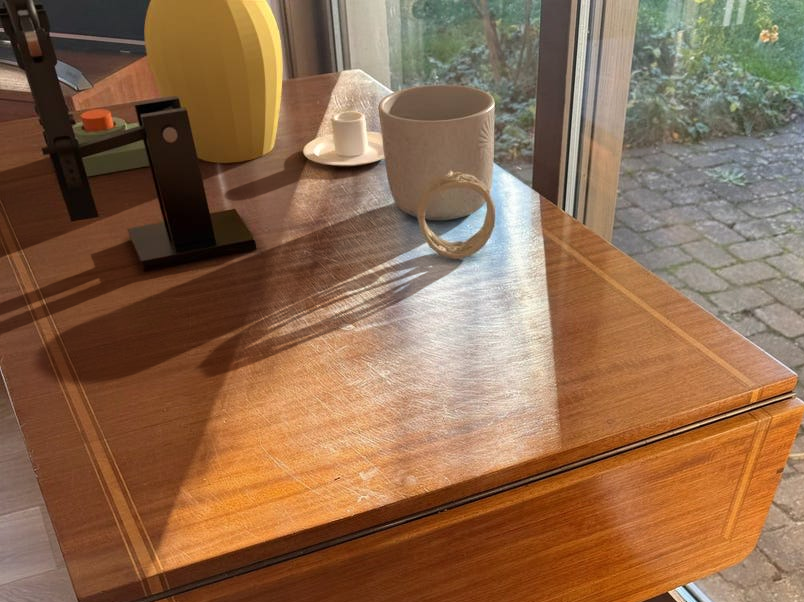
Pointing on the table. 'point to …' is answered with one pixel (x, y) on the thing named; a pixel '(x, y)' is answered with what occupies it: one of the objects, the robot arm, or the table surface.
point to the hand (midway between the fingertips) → (80, 207)
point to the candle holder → (346, 143)
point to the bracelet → (459, 248)
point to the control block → (112, 150)
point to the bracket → (181, 196)
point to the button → (97, 120)
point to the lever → (114, 140)
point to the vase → (219, 72)
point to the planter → (437, 145)
